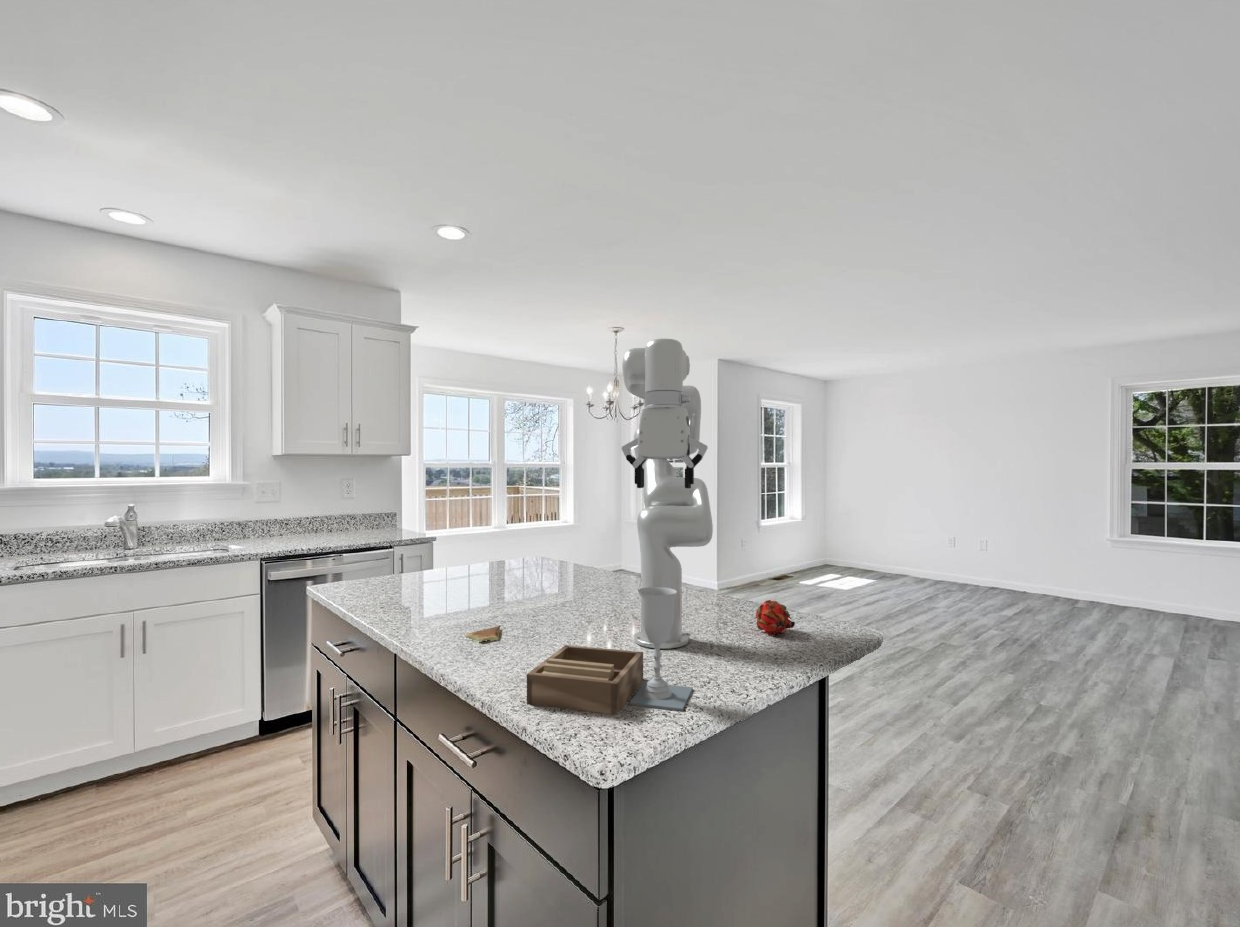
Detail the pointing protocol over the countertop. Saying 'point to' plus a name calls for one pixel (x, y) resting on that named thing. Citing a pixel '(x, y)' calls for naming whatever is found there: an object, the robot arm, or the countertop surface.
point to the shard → (485, 634)
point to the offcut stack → (579, 669)
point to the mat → (671, 703)
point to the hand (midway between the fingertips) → (663, 488)
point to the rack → (587, 681)
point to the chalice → (657, 632)
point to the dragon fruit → (773, 618)
